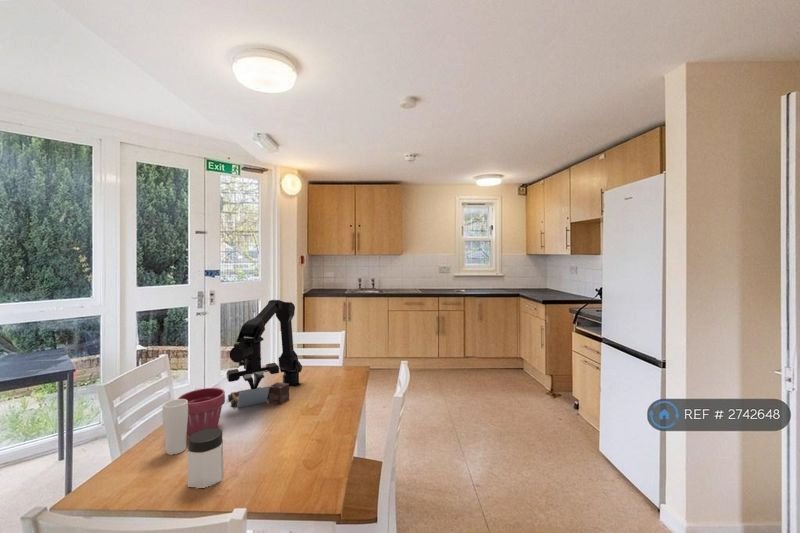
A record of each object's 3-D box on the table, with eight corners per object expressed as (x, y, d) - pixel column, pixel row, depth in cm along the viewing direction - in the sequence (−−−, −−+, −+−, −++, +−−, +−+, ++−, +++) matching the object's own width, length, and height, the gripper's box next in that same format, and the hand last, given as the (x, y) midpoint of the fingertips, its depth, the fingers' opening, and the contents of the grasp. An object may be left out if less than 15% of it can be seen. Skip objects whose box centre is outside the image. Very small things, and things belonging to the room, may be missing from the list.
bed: (263, 393, 161) (262, 386, 161) (270, 402, 151) (270, 394, 151) (227, 400, 153) (227, 393, 153) (233, 410, 143) (232, 402, 143)
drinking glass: (193, 446, 115) (192, 398, 115) (178, 457, 108) (177, 407, 108) (173, 445, 116) (172, 398, 116) (157, 456, 109) (156, 406, 109)
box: (289, 400, 152) (289, 383, 152) (280, 406, 146) (280, 388, 146) (277, 399, 154) (277, 382, 154) (268, 404, 148) (267, 386, 148)
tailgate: (266, 401, 150) (265, 399, 150) (269, 388, 145) (268, 386, 146) (237, 408, 144) (237, 405, 144) (239, 394, 139) (239, 391, 140)
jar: (216, 466, 103) (216, 424, 103) (230, 477, 98) (229, 433, 98) (181, 481, 96) (181, 436, 96) (194, 494, 91) (193, 446, 91)
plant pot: (176, 446, 115) (175, 405, 115) (179, 428, 128) (178, 392, 128) (226, 435, 122) (225, 397, 122) (224, 419, 134) (224, 385, 134)
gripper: (272, 345, 155) (272, 381, 156) (224, 352, 145) (225, 390, 146) (279, 352, 146) (279, 390, 147) (228, 360, 136) (229, 401, 137)
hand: (253, 392), depth 144 cm, fingers closed, pressing on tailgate
